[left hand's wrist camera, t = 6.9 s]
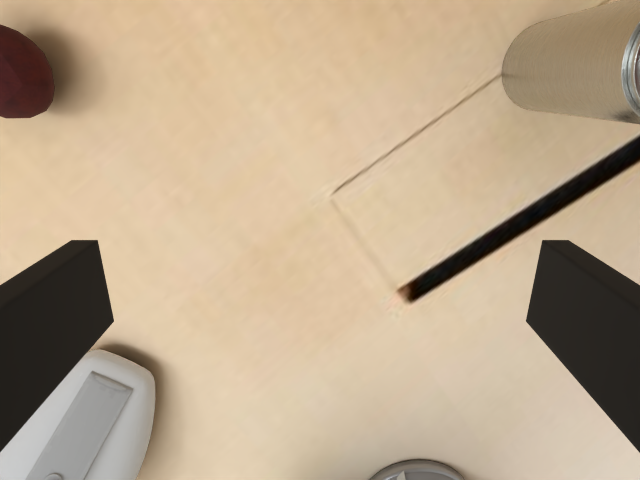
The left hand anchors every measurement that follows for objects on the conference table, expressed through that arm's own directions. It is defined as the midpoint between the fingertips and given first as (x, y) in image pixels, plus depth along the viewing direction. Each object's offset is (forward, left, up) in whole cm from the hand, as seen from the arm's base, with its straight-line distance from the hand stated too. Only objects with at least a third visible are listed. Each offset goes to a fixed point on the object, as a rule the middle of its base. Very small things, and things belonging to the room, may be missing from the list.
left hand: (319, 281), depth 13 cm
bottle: (+7, -21, -30) cm, 38 cm away
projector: (-34, +29, -30) cm, 54 cm away
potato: (+6, +27, -30) cm, 41 cm away
